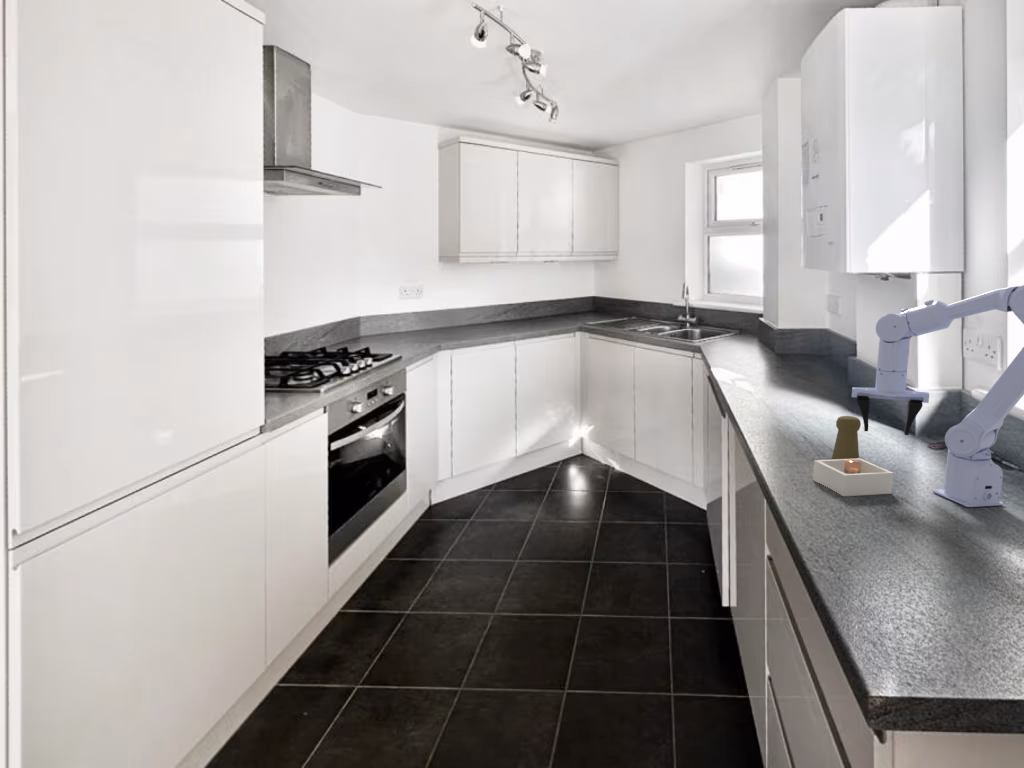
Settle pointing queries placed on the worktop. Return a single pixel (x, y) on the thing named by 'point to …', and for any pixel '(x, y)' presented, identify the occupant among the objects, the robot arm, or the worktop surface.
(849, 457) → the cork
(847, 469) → the copper knob lid
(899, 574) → the worktop surface
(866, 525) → the worktop surface
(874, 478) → the white shallow open box
